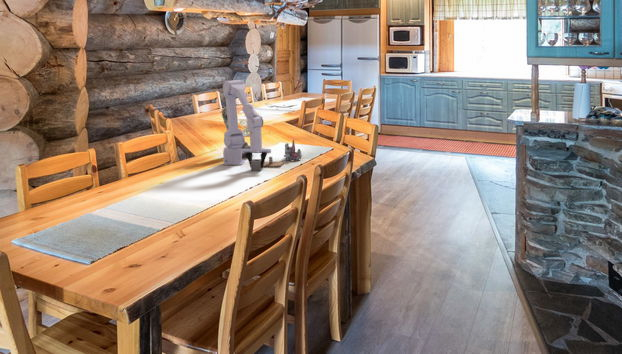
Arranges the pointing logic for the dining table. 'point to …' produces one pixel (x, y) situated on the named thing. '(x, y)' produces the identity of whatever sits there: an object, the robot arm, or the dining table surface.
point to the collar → (256, 165)
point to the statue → (225, 118)
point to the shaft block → (273, 163)
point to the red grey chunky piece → (292, 152)
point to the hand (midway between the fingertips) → (256, 167)
